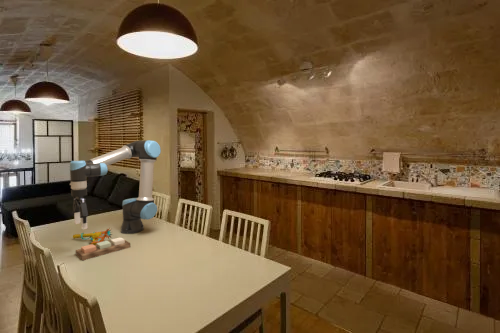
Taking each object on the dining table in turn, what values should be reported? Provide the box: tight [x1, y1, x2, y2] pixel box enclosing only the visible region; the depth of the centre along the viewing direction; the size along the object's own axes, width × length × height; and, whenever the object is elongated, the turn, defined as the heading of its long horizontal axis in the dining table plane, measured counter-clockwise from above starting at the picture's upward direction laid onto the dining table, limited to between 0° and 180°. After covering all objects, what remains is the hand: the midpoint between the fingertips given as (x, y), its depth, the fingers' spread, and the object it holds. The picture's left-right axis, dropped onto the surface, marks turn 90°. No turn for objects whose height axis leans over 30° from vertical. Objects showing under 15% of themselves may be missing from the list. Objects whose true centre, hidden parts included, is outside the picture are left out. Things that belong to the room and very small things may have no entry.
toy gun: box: [72, 227, 113, 245], centre depth 177 cm, size 8×27×15 cm
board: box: [75, 239, 131, 261], centre depth 165 cm, size 26×12×3 cm, turn 136°
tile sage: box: [96, 240, 111, 249], centre depth 165 cm, size 6×6×2 cm
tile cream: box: [110, 236, 126, 246], centre depth 170 cm, size 6×6×2 cm
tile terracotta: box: [80, 244, 96, 254], centre depth 159 cm, size 6×6×2 cm
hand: (81, 226), depth 157 cm, fingers open, 13 cm apart
